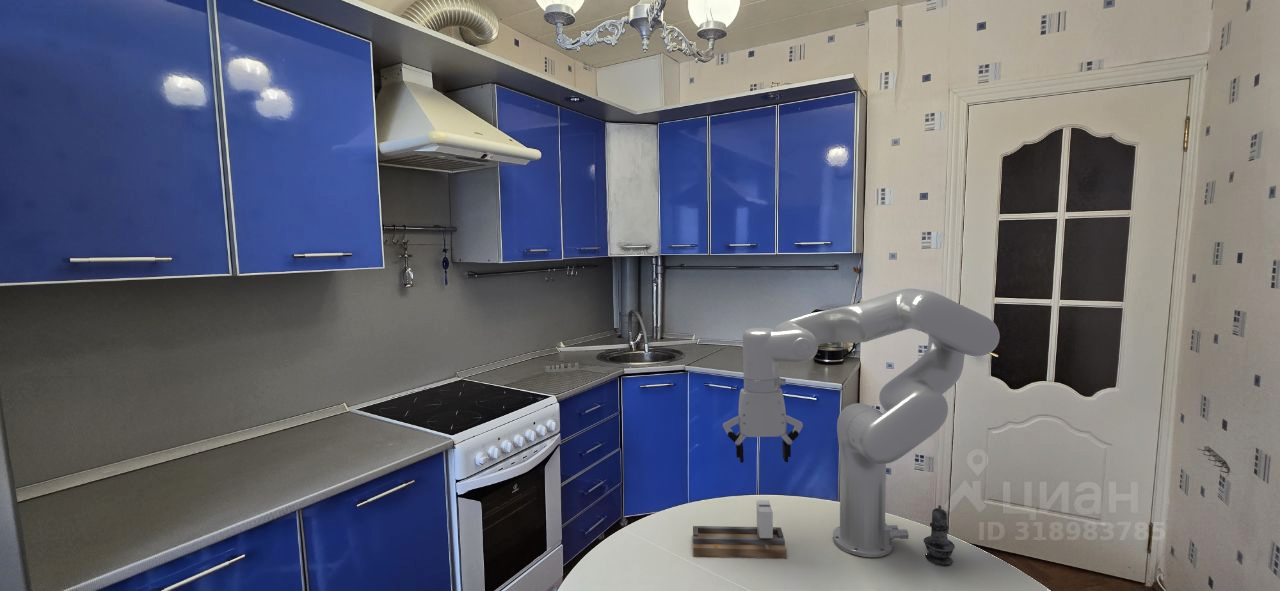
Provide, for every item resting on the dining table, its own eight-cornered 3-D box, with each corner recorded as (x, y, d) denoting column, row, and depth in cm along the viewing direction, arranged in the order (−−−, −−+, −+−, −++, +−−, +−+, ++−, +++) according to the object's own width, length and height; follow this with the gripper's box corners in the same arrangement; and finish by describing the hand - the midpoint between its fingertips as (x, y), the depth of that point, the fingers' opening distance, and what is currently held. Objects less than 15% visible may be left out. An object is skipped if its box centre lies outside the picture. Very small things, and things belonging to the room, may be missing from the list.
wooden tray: (779, 536, 129) (779, 521, 129) (786, 558, 120) (786, 542, 120) (693, 535, 131) (692, 520, 131) (693, 556, 122) (693, 540, 122)
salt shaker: (944, 551, 121) (945, 498, 120) (960, 566, 116) (962, 511, 114) (917, 552, 121) (918, 499, 120) (932, 567, 115) (933, 512, 114)
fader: (769, 530, 127) (769, 499, 127) (773, 543, 122) (773, 511, 121) (756, 530, 128) (756, 499, 127) (759, 543, 122) (759, 511, 122)
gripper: (798, 379, 125) (799, 453, 126) (720, 381, 126) (723, 454, 128) (805, 388, 117) (806, 466, 119) (722, 389, 119) (725, 467, 120)
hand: (763, 460), depth 123 cm, fingers open, 9 cm apart
